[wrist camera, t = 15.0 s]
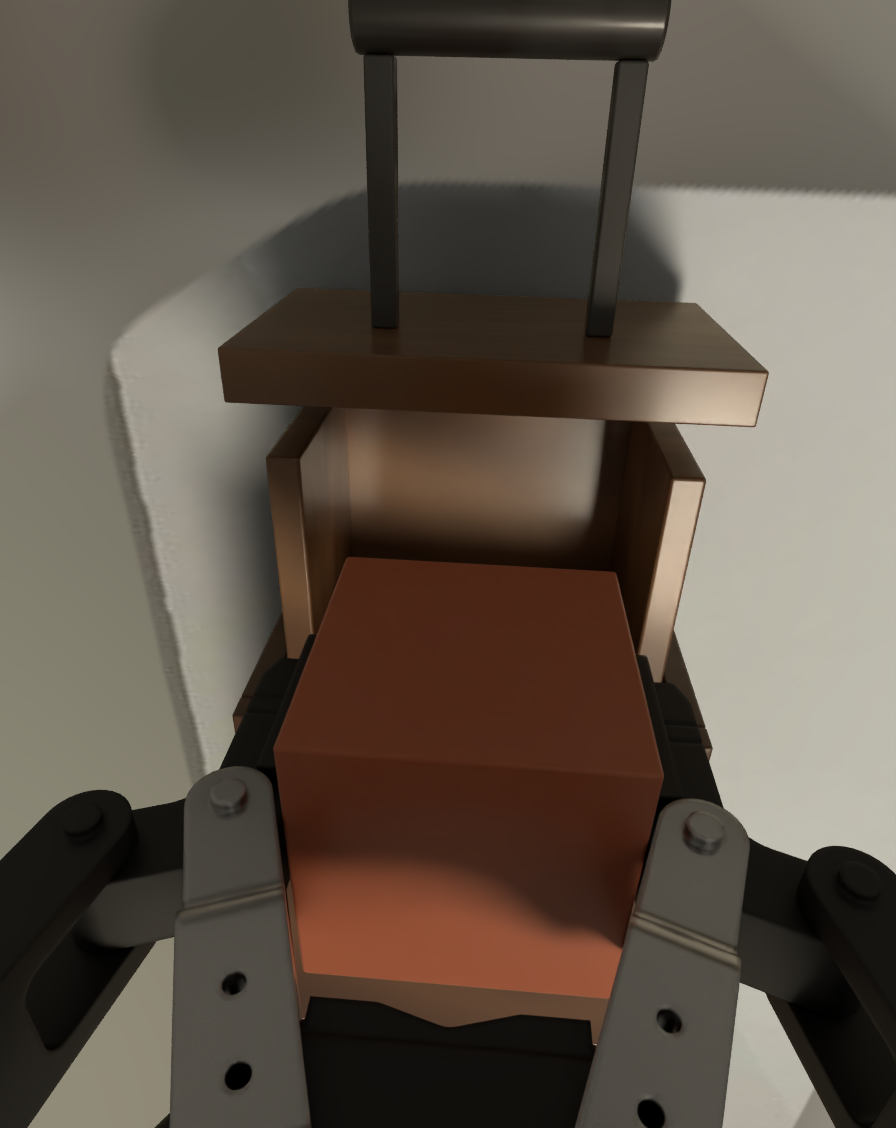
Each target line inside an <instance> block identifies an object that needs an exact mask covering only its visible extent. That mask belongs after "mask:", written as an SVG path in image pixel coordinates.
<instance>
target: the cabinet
mask: <svg viewBox="0 0 896 1128" xmlns="http://www.w3.org/2000/svg"><path fill="white" fill-rule="evenodd" d="M280 658H287V649H286V640H285V631H284V622H283V613H282V611H281V613H280V616H279V618H278V620H277V622H276V624H275V626H274V628H273V630H272V633H271V635H270V637H269V639H268V641H267V643H266V645H265V647H264V650H263V652H262V654H261V656H260V658H259V660H258V662H257V664H256V667H255V669H254V671H253V673H252V675H251V677H250V679H249V681H248V684H247V686H246V688H245V690H244V692H243V694H242V698H240V701H239V703H238V705H237V707H236V709H235V711H234V713H233V722H234V728H235V734H236V732H237V729H238V727H239V725H240V723H241V720H242V718H243V716H244V714H245V712H247V707H248V705H249V703H250V701H251V698H252V697H254V692H255V690H256V687H257V685H258V683H259V681H260V679H261V676H262V674H263V673H264V672H265V671H266V670H268V669H269V668H270V667H271V666H272V665H273V664H274V663H275V662H276V661H278V660H279V659H280ZM662 683H674V684H675V686H676V687H677V688H678V689H679V690H680V691H681V692H682V693H683V695H684V696H685V697H686V698H687V699H688V700H689V701H690V703H691V706H692V709H693V712H694V716H695V719H696V722H697V727H698V728H699V732H700V735H701V738H702V744H704V748H705V751H706V754H707V757H708V760H710V756H711V753H712V749H713V748H712V745H711V742H710V739H709V736H708V733H707V730H706V729H705V724H704V721H703V718H702V715H701V712H700V709H699V706H698V703H697V700H696V696H695V693H694V690H693V687H692V684H691V681H690V678H689V675H688V672H687V669H686V666H685V663H684V660H683V657H682V654H681V650H680V647H679V644H678V641H677V638H676V635H675V632H674V630H673V634H672V639H671V643H670V648H669V652H668V657H667V661H666V666H665V670H664V675H663V680H662ZM287 896H288V904H289V913H290V921H291V930H292V938H293V946H294V955H295V963H296V971H297V980H298V988H299V996H300V1004H301V1012H302V1018H305V1016H306V1012H307V1008H308V1003H309V999H310V996H316V997H327V998H339V999H350V1000H362V1001H373V1002H380V1003H382V1004H385V1005H388V1006H390V1007H393V1008H396V1009H398V1010H401V1011H404V1012H406V1013H409V1014H412V1015H414V1016H417V1017H419V1018H422V1019H425V1020H427V1021H430V1022H433V1023H435V1024H438V1025H441V1026H445V1027H456V1026H461V1025H467V1024H472V1023H477V1022H483V1021H488V1020H493V1019H498V1018H504V1017H509V1016H514V1015H520V1014H523V1015H534V1016H546V1017H557V1018H569V1019H580V1020H591V1031H592V1042H593V1044H597V1043H598V1039H599V1035H600V1031H601V1028H602V1024H603V1020H604V1017H605V1013H606V1009H607V1005H608V1002H609V998H607V999H605V998H594V997H582V996H571V995H559V994H547V993H536V992H524V991H513V990H501V989H490V988H478V987H466V986H455V985H443V984H432V983H420V982H409V981H397V980H385V979H374V978H362V977H351V976H339V975H327V974H316V973H306V972H304V971H303V968H302V961H301V954H300V946H299V938H298V931H297V923H296V916H295V908H294V901H293V893H292V886H291V878H290V881H289V884H288V887H287ZM634 907H635V900H634V904H633V908H632V913H631V916H632V914H633V911H634ZM630 920H631V917H630ZM629 923H630V921H629ZM628 927H629V925H628ZM627 931H628V929H627ZM626 935H627V934H626Z"/></svg>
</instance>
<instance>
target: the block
mask: <svg viewBox="0 0 896 1128" xmlns="http://www.w3.org/2000/svg"><path fill="white" fill-rule="evenodd" d="M273 750H274V758H275V765H276V773H277V780H278V788H279V795H280V803H281V810H282V818H283V825H284V833H285V840H286V848H287V856H288V863H289V871H290V878H291V886H292V893H293V901H294V908H295V916H296V923H297V931H298V938H299V946H300V954H301V961H302V968H303V971H304V972H306V973H316V974H327V975H339V976H351V977H362V978H374V979H385V980H397V981H409V982H420V983H432V984H443V985H455V986H466V987H478V988H490V989H501V990H513V991H524V992H536V993H547V994H559V995H571V996H582V997H594V998H605V999H607V998H610V994H611V990H612V987H613V983H614V979H615V976H616V972H617V968H618V964H619V961H620V957H621V953H622V949H623V946H624V942H625V938H626V934H627V929H628V925H629V921H630V917H631V913H632V908H633V904H634V900H635V896H636V892H637V888H638V883H639V879H640V875H641V871H642V867H643V862H644V858H645V854H646V850H647V846H648V841H649V837H650V833H651V829H652V825H653V820H654V816H655V812H656V808H657V804H658V799H659V795H660V791H661V787H662V783H663V779H664V773H663V769H662V765H661V761H660V756H659V752H658V748H657V744H656V739H655V735H654V731H653V727H652V723H651V718H650V714H649V710H648V706H647V701H646V697H645V693H644V689H643V684H642V680H641V676H640V672H639V667H638V663H637V659H636V655H635V651H634V646H633V642H632V638H631V634H630V629H629V625H628V621H627V617H626V612H625V608H624V604H623V600H622V596H621V591H620V587H619V583H618V579H617V575H616V573H614V572H607V571H590V570H572V569H554V568H537V567H519V566H501V565H484V564H466V563H448V562H431V561H413V560H395V559H378V558H360V557H348V558H346V560H345V563H344V566H343V568H342V571H341V573H340V576H339V579H338V581H337V584H336V586H335V589H334V592H333V594H332V597H331V599H330V602H329V605H328V607H327V610H326V612H325V615H324V618H323V620H322V623H321V625H320V628H319V631H318V633H317V636H316V638H315V641H314V644H313V646H312V649H311V651H310V654H309V657H308V659H307V662H306V664H305V667H304V670H303V672H302V675H301V677H300V680H299V683H298V685H297V688H296V690H295V693H294V696H293V698H292V701H291V704H290V706H289V709H288V711H287V714H286V717H285V719H284V722H283V724H282V727H281V730H280V732H279V735H278V737H277V740H276V743H275V745H274V748H273Z"/></svg>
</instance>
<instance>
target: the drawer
mask: <svg viewBox="0 0 896 1128" xmlns="http://www.w3.org/2000/svg"><path fill="white" fill-rule="evenodd" d="M670 7H671V0H348V8H349V23H350V32H351V38H352V42H353V46H354V48H355V51H356V52H357V53H358V54H360V55H364V91H365V123H366V124H365V126H366V161H367V196H368V231H369V266H370V290H346V289H321V288H296V289H295V290H294V291H292V292H291V293H290V294H288V295H287V296H286V297H284V298H283V299H282V300H281V301H279V302H278V303H277V304H275V305H274V306H273V307H271V308H270V309H269V310H267V311H266V312H265V313H263V314H262V315H261V316H259V317H258V318H257V319H255V320H254V321H253V322H252V323H250V324H249V325H248V326H246V327H245V328H244V329H242V330H241V331H240V332H238V333H237V334H236V335H234V336H233V337H232V338H230V339H229V340H228V341H227V342H225V343H224V344H223V345H221V346H220V347H219V348H218V355H219V363H220V370H221V378H222V385H223V393H224V400H225V402H229V403H250V404H271V405H293V406H303V408H302V409H301V410H300V412H299V413H298V415H297V416H296V417H295V419H294V420H293V421H292V423H291V424H290V425H289V427H288V428H287V429H286V431H285V432H284V433H283V435H282V436H281V438H280V439H279V440H278V442H277V443H276V444H275V446H274V447H273V448H272V450H271V451H270V452H269V454H268V455H267V457H266V466H267V475H268V484H269V494H270V503H271V512H272V521H273V530H274V539H275V549H276V558H277V567H278V576H279V585H280V594H281V603H282V613H283V622H284V631H285V640H286V649H287V658H294V659H299V657H300V654H301V652H302V649H303V647H304V644H305V642H306V639H307V637H308V636H309V634H317V633H318V631H319V628H320V625H321V623H322V620H323V618H324V615H325V612H326V610H327V607H328V605H329V602H330V599H331V597H332V594H333V592H334V589H335V586H336V584H337V581H338V579H339V576H340V573H341V571H342V568H343V566H344V563H345V560H346V558H348V557H360V558H378V559H395V560H413V561H431V562H448V563H466V564H484V565H501V566H519V567H537V568H554V569H572V570H590V571H607V572H614V573H616V575H617V579H618V583H619V587H620V591H621V596H622V600H623V604H624V608H625V612H626V617H627V621H628V625H629V629H630V634H631V638H632V642H633V646H634V651H635V655H646V656H647V658H648V661H649V665H650V668H651V672H652V676H653V680H654V682H661V683H662V680H663V675H664V670H665V666H666V661H667V657H668V652H669V648H670V643H671V639H672V634H673V630H674V625H675V620H676V616H677V611H678V607H679V602H680V598H681V593H682V589H683V584H684V580H685V575H686V570H687V566H688V561H689V557H690V552H691V548H692V543H693V539H694V534H695V530H696V525H697V520H698V516H699V511H700V507H701V502H702V498H703V493H704V489H705V484H706V479H705V477H704V475H703V473H702V472H701V470H700V468H699V466H698V464H697V463H696V461H695V459H694V457H693V455H692V454H691V452H690V450H689V448H688V446H687V445H686V443H685V441H684V439H683V437H682V436H681V434H680V432H679V430H678V428H677V427H676V425H675V423H676V424H697V425H718V426H739V427H755V426H756V423H757V419H758V415H759V411H760V407H761V403H762V399H763V395H764V391H765V387H766V383H767V379H768V374H769V372H768V371H767V370H766V369H765V368H764V367H763V366H762V365H761V364H760V363H759V362H758V361H757V360H756V359H755V358H754V357H752V356H751V355H750V354H749V353H748V352H747V351H746V350H745V349H744V348H743V347H742V346H741V345H740V344H739V343H738V342H737V341H736V340H735V339H733V338H732V337H731V336H730V335H729V334H728V333H727V332H726V331H725V330H724V329H723V328H722V327H721V326H720V325H719V324H718V323H717V322H716V321H714V320H713V319H712V318H711V317H710V316H709V315H708V314H707V313H706V312H705V311H704V310H703V309H702V308H701V307H700V306H699V305H698V304H696V303H680V302H654V301H628V300H617V297H618V290H619V282H620V275H621V267H622V260H623V253H624V245H625V238H626V230H627V223H628V215H629V208H630V201H631V193H632V186H633V178H634V169H635V163H636V156H637V149H638V141H639V134H640V126H641V118H642V111H643V104H644V97H645V89H646V80H647V74H648V67H649V64H648V61H652V62H653V61H655V60H657V59H658V57H659V55H660V53H661V51H662V47H663V44H664V40H665V36H666V32H667V27H668V21H669V15H670ZM394 56H436V57H480V58H522V59H525V58H526V59H566V60H610V61H612V60H613V61H618V62H617V63H616V64H615V69H614V77H613V86H612V95H611V104H610V112H609V121H608V130H607V138H606V147H605V156H604V164H603V173H602V181H601V190H600V199H599V207H598V216H597V225H596V233H595V242H594V251H593V259H592V268H591V277H590V285H589V294H588V299H577V298H551V297H526V296H500V295H474V294H449V293H423V292H399V234H398V133H397V132H398V131H397V129H398V128H397V59H396V57H394Z"/></svg>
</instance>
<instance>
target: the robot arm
mask: <svg viewBox="0 0 896 1128" xmlns="http://www.w3.org/2000/svg"><path fill="white" fill-rule="evenodd" d="M316 636H317V634H309V636H308V637H307V639H306V642H305V644H304V647H303V649H302V652H301V654H300V657H299V659H294V658H280V659H279V660H278V661H276V662H275V663H274V664H273V665H272V666H271V667H270V668H269V669H268V670H266V671H265V672H264V673H263V674H262V676H261V679H260V681H259V683H258V685H257V687H256V690H255V692H254V697H252V698H251V701H250V703H249V705H248V707H247V712H245V714H244V716H243V718H242V720H241V723H240V725H239V727H238V729H237V732H236V734H235V736H234V738H233V740H232V743H231V745H230V747H229V749H228V751H227V754H226V756H225V758H224V760H223V762H222V765H221V767H220V769H219V770H217V771H214V772H212V773H210V774H208V775H206V776H205V777H203V778H202V779H200V780H199V781H198V782H197V783H196V784H195V785H194V786H193V787H192V788H191V790H190V791H189V793H188V795H187V797H186V798H185V799H182V800H179V801H176V802H172V803H168V804H163V805H157V806H152V807H147V808H142V809H136V810H132V809H131V806H130V804H129V802H128V800H127V799H126V798H125V797H124V796H122V795H121V794H119V793H116V792H113V791H108V790H92V791H87V792H83V793H80V794H77V795H74V796H72V797H69V798H67V799H66V800H64V801H62V802H60V803H59V804H57V805H56V806H55V807H53V808H52V809H51V810H50V811H49V812H48V813H47V814H46V815H45V816H44V817H43V818H42V819H41V820H40V821H39V822H38V823H37V824H36V825H35V826H34V827H33V828H32V829H31V830H30V831H29V832H28V833H27V834H26V835H25V836H24V837H23V838H22V839H21V840H20V841H19V842H18V843H17V844H16V845H15V846H14V847H13V848H12V849H11V850H10V851H9V852H8V853H7V854H6V855H5V856H4V857H3V858H2V859H1V860H0V1128H27V1127H28V1126H29V1125H30V1123H31V1122H32V1120H33V1119H34V1117H35V1116H36V1114H37V1113H38V1112H39V1110H40V1109H41V1107H42V1106H43V1104H44V1103H45V1101H46V1100H47V1099H48V1097H49V1096H50V1094H51V1092H52V1091H53V1090H54V1088H55V1087H56V1086H57V1084H58V1083H59V1081H60V1080H61V1078H62V1077H63V1075H64V1074H65V1073H66V1071H67V1070H68V1068H69V1067H70V1065H71V1064H72V1063H73V1061H74V1060H75V1058H76V1057H77V1055H78V1054H79V1052H80V1051H81V1050H82V1048H83V1047H84V1045H85V1044H86V1042H87V1041H88V1039H89V1038H90V1036H91V1035H92V1034H93V1032H94V1031H95V1029H96V1028H97V1026H98V1025H99V1024H100V1022H101V1021H102V1019H103V1018H104V1016H105V1015H106V1013H107V1012H108V1011H109V1009H110V1008H111V1006H112V1005H113V1003H114V1002H115V1001H116V999H117V998H118V996H119V995H120V993H121V992H122V991H123V989H124V988H125V986H126V985H127V983H128V982H129V980H130V979H131V978H132V976H133V975H134V973H135V972H136V970H137V969H138V967H139V966H140V964H141V963H142V962H143V960H144V958H145V957H146V956H147V954H148V953H149V952H150V950H151V949H152V947H153V946H154V944H155V943H156V941H158V940H163V939H167V938H171V937H174V975H173V1013H172V1053H171V1093H170V1113H169V1114H168V1115H167V1116H166V1117H165V1118H164V1119H163V1120H162V1121H161V1122H160V1123H159V1124H158V1125H157V1126H156V1127H155V1128H722V1125H723V1117H724V1108H725V1100H726V1092H727V1083H728V1075H729V1066H730V1058H731V1050H732V1041H733V1033H734V1025H735V1016H736V1008H737V999H738V991H739V983H743V984H745V985H748V986H750V987H753V988H755V989H758V990H760V991H763V992H765V993H766V995H767V998H768V1000H769V1002H770V1004H771V1005H772V1007H773V1009H774V1011H775V1013H776V1015H777V1017H778V1019H779V1021H780V1023H781V1025H782V1026H783V1028H784V1030H785V1032H786V1034H787V1036H788V1038H789V1040H790V1042H791V1044H792V1046H793V1047H794V1049H795V1051H796V1053H797V1055H798V1057H799V1059H800V1061H801V1063H802V1065H803V1067H804V1068H805V1070H806V1072H807V1074H808V1076H809V1078H810V1080H811V1082H812V1084H813V1086H814V1088H815V1089H816V1091H817V1093H818V1095H819V1097H820V1099H821V1101H822V1103H823V1105H824V1106H825V1108H826V1110H827V1112H828V1114H829V1116H830V1118H831V1120H832V1122H833V1124H834V1126H835V1128H896V874H895V873H894V872H893V871H892V870H890V869H889V868H888V867H887V866H886V865H884V864H883V863H882V862H880V861H879V860H877V859H876V858H874V857H872V856H871V855H868V854H866V853H864V852H862V851H859V850H856V849H853V848H849V847H843V846H828V847H824V848H821V849H819V850H817V851H815V852H814V853H813V854H812V855H811V857H810V858H809V860H808V861H805V860H802V859H799V858H797V857H794V856H791V855H788V854H785V853H782V852H779V851H776V850H773V849H770V848H768V847H765V846H763V845H761V844H759V843H757V842H755V841H754V840H752V839H751V838H749V837H748V835H747V833H746V830H745V829H744V827H743V826H742V824H741V823H740V822H739V821H738V819H737V818H736V817H734V816H733V815H732V814H731V813H730V812H728V811H727V810H725V809H724V807H723V805H722V802H721V799H720V795H719V792H718V789H717V786H716V783H715V779H714V776H713V773H712V770H711V767H710V763H709V760H708V757H707V754H706V751H705V748H704V744H702V738H701V735H700V732H699V728H698V727H697V722H696V719H695V716H694V712H693V709H692V706H691V703H690V701H689V700H688V699H687V698H686V697H685V696H684V695H683V693H682V692H681V691H680V690H679V689H678V688H677V687H676V686H675V684H674V683H661V682H654V680H653V676H652V672H651V668H650V665H649V661H648V658H647V656H646V655H636V659H637V663H638V667H639V672H640V676H641V680H642V684H643V689H644V693H645V697H646V701H647V706H648V710H649V714H650V718H651V723H652V727H653V731H654V735H655V739H656V744H657V748H658V752H659V756H660V761H661V765H662V769H663V773H664V779H663V783H662V787H661V791H660V795H659V799H658V804H657V808H656V812H655V816H654V820H653V825H652V829H651V833H650V837H649V841H648V846H647V850H646V854H645V858H644V862H643V867H642V871H641V875H640V879H639V883H638V888H637V892H636V896H635V907H634V911H633V914H632V916H631V920H630V923H629V927H628V931H627V935H626V938H625V942H624V946H623V949H622V953H621V957H620V961H619V964H618V968H617V972H616V976H615V979H614V983H613V987H612V990H611V994H610V998H609V1002H608V1005H607V1009H606V1013H605V1017H604V1020H603V1024H602V1028H601V1031H600V1035H599V1039H598V1043H597V1046H596V1045H594V1044H593V1042H592V1031H591V1020H580V1019H569V1018H557V1017H546V1016H534V1015H523V1014H520V1015H514V1016H509V1017H504V1018H498V1019H493V1020H488V1021H483V1022H477V1023H472V1024H467V1025H461V1026H456V1027H445V1026H441V1025H438V1024H435V1023H433V1022H430V1021H427V1020H425V1019H422V1018H419V1017H417V1016H414V1015H412V1014H409V1013H406V1012H404V1011H401V1010H398V1009H396V1008H393V1007H390V1006H388V1005H385V1004H382V1003H380V1002H373V1001H362V1000H350V999H339V998H327V997H316V996H310V999H309V1003H308V1008H307V1012H306V1016H305V1019H302V1012H301V1004H300V996H299V988H298V980H297V971H296V963H295V955H294V946H293V938H292V930H291V921H290V913H289V904H288V896H287V887H288V884H289V881H290V871H289V863H288V856H287V848H286V840H285V833H284V825H283V818H282V810H281V803H280V795H279V788H278V780H277V773H276V765H275V758H274V750H273V748H274V745H275V743H276V740H277V737H278V735H279V732H280V730H281V727H282V724H283V722H284V719H285V717H286V714H287V711H288V709H289V706H290V704H291V701H292V698H293V696H294V693H295V690H296V688H297V685H298V683H299V680H300V677H301V675H302V672H303V670H304V667H305V664H306V662H307V659H308V657H309V654H310V651H311V649H312V646H313V644H314V641H315V638H316Z"/></svg>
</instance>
